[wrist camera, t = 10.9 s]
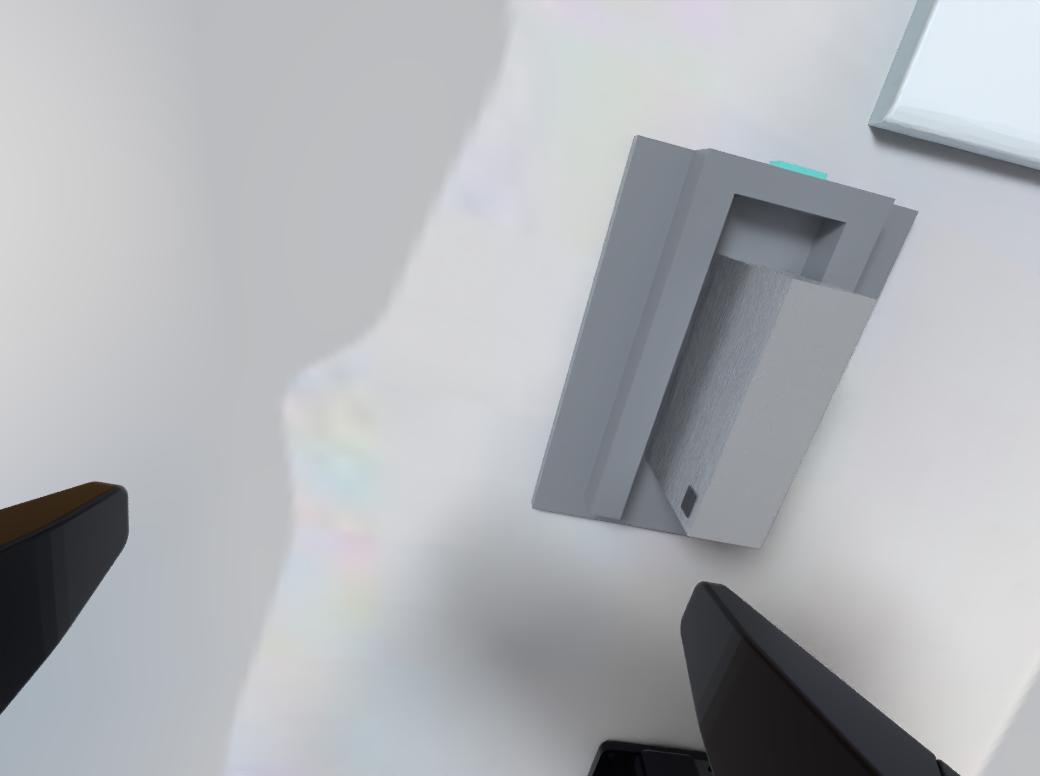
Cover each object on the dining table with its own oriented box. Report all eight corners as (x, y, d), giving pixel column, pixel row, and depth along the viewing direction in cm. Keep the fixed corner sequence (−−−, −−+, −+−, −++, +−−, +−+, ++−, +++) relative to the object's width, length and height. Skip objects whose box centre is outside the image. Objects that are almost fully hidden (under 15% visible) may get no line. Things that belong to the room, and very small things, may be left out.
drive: (703, 469, 22) (761, 549, 17) (644, 457, 21) (686, 536, 17) (783, 270, 19) (878, 300, 14) (716, 253, 19) (791, 278, 14)
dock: (755, 541, 24) (775, 568, 22) (531, 501, 22) (534, 527, 21) (910, 204, 19) (951, 207, 17) (636, 129, 17) (651, 124, 16)
